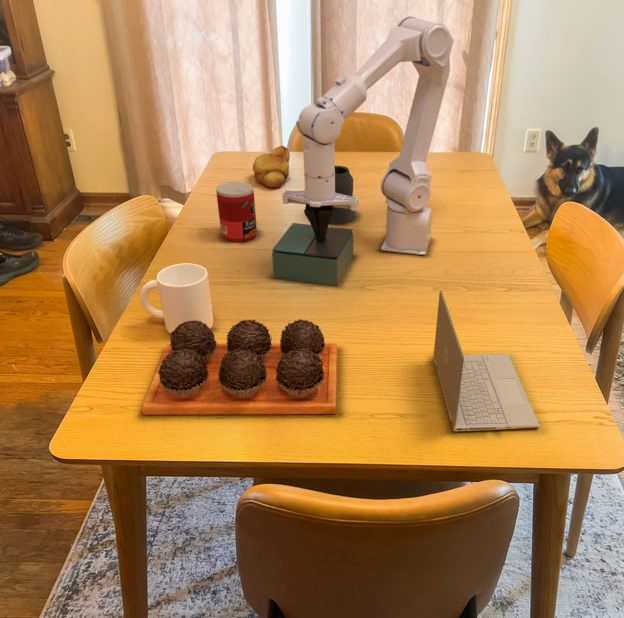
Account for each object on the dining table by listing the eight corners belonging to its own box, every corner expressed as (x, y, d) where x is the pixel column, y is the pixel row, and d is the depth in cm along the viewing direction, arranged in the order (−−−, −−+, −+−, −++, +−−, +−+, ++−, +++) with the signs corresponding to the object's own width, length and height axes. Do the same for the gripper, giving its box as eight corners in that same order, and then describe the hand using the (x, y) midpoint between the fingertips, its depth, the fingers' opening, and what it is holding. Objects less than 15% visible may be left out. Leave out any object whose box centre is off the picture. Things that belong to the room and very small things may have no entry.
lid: (353, 230, 137) (353, 229, 137) (336, 258, 127) (336, 256, 126) (323, 228, 138) (323, 226, 138) (304, 255, 128) (304, 253, 128)
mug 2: (355, 224, 154) (356, 177, 147) (316, 223, 154) (314, 176, 148) (357, 204, 164) (357, 159, 157) (320, 204, 164) (319, 158, 158)
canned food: (251, 244, 145) (246, 195, 139) (215, 241, 146) (210, 192, 140) (261, 229, 151) (258, 182, 145) (228, 226, 153) (223, 180, 146)
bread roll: (288, 190, 171) (286, 159, 166) (250, 190, 171) (247, 159, 166) (291, 172, 182) (290, 143, 177) (255, 172, 181) (253, 143, 177)
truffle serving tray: (336, 351, 111) (336, 307, 107) (336, 415, 98) (335, 368, 93) (167, 351, 111) (160, 307, 106) (143, 415, 97) (133, 368, 93)
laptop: (539, 430, 95) (556, 354, 88) (452, 433, 94) (461, 357, 87) (508, 357, 110) (520, 287, 103) (432, 359, 109) (438, 289, 102)
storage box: (353, 256, 140) (353, 229, 137) (337, 285, 130) (337, 256, 126) (293, 250, 143) (292, 222, 139) (273, 278, 132) (271, 249, 129)
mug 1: (138, 337, 114) (127, 284, 109) (153, 312, 121) (144, 261, 115) (207, 340, 114) (199, 287, 108) (219, 315, 121) (212, 264, 115)
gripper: (275, 177, 123) (279, 244, 131) (352, 184, 120) (351, 252, 128) (287, 164, 129) (290, 230, 136) (361, 171, 126) (360, 237, 134)
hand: (321, 240), depth 133 cm, fingers closed, pressing on lid
